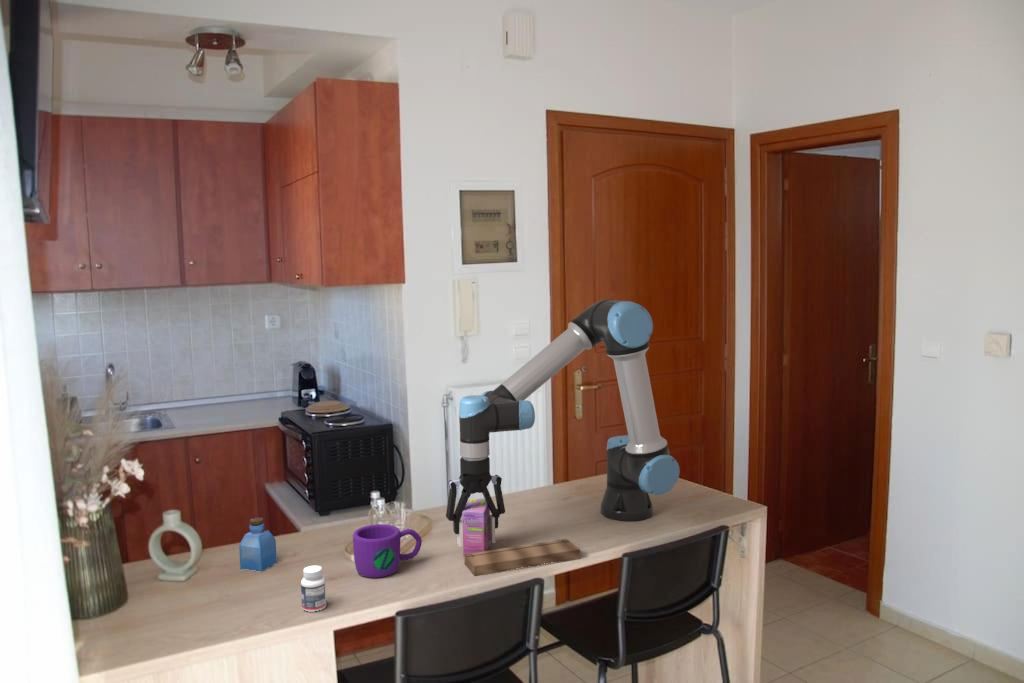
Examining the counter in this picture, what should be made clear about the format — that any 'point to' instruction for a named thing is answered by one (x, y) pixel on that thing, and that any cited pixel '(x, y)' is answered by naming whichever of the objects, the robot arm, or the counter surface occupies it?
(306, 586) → the pill bottle
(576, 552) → the plank
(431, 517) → the counter surface
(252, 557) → the perfume bottle
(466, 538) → the box
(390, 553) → the mug
